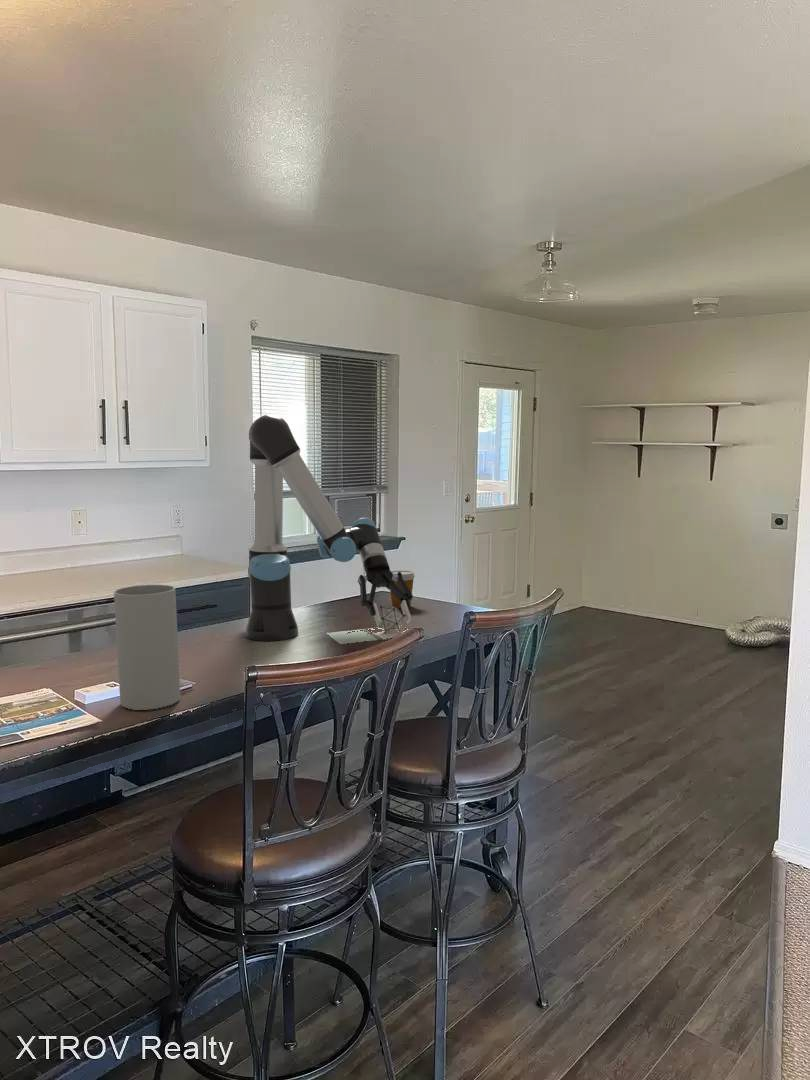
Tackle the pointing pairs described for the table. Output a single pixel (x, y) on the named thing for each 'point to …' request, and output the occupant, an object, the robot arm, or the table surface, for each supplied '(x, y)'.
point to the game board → (360, 636)
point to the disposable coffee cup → (408, 579)
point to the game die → (390, 618)
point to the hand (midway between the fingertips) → (394, 622)
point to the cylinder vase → (147, 646)
